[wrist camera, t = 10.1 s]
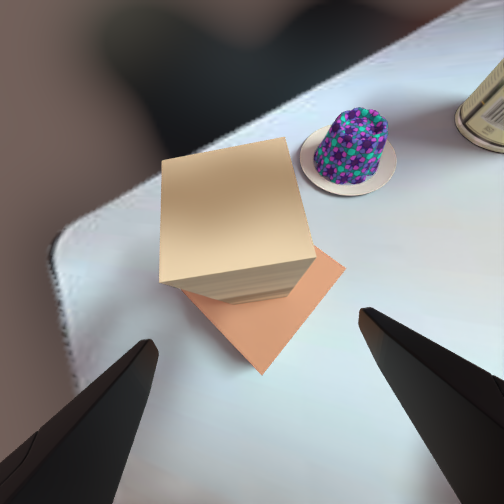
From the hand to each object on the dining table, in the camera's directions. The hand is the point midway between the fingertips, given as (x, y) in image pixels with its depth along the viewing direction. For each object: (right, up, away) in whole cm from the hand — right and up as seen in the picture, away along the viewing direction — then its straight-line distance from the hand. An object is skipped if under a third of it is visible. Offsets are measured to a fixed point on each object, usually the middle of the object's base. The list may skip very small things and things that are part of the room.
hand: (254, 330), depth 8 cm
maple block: (0, +1, +10) cm, 10 cm away
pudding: (+12, +16, +18) cm, 27 cm away
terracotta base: (+1, 0, +13) cm, 13 cm away
